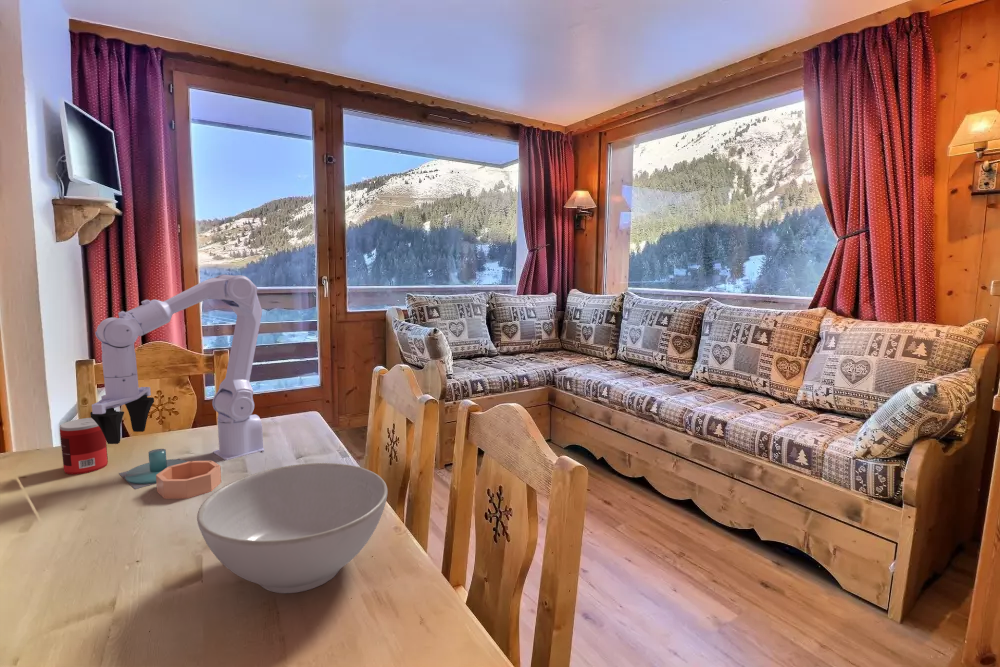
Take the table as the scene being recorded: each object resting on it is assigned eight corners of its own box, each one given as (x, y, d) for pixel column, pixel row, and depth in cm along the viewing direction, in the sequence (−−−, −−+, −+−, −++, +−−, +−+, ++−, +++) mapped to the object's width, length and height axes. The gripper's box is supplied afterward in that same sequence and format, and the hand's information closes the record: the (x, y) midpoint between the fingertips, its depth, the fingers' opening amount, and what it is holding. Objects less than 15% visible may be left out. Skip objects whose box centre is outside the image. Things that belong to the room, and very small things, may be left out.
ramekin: (207, 474, 116) (206, 456, 116) (227, 488, 109) (226, 469, 109) (152, 489, 108) (151, 470, 108) (170, 505, 101) (168, 485, 101)
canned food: (116, 463, 122) (112, 418, 120) (86, 477, 114) (82, 428, 112) (86, 461, 122) (82, 416, 121) (54, 475, 114) (49, 427, 113)
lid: (179, 458, 124) (177, 438, 124) (198, 472, 116) (196, 450, 116) (118, 473, 115) (116, 451, 115) (134, 489, 107) (133, 465, 107)
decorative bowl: (212, 543, 88) (208, 475, 86) (373, 515, 99) (371, 454, 97) (188, 651, 64) (182, 559, 62) (405, 599, 74) (404, 519, 73)
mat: (179, 460, 124) (179, 458, 124) (198, 473, 116) (198, 472, 116) (118, 474, 115) (118, 473, 115) (135, 490, 107) (134, 489, 107)
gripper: (126, 367, 116) (131, 426, 118) (73, 382, 102) (80, 449, 104) (157, 367, 116) (162, 426, 118) (109, 383, 102) (116, 449, 104)
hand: (126, 437), depth 111 cm, fingers open, 7 cm apart
